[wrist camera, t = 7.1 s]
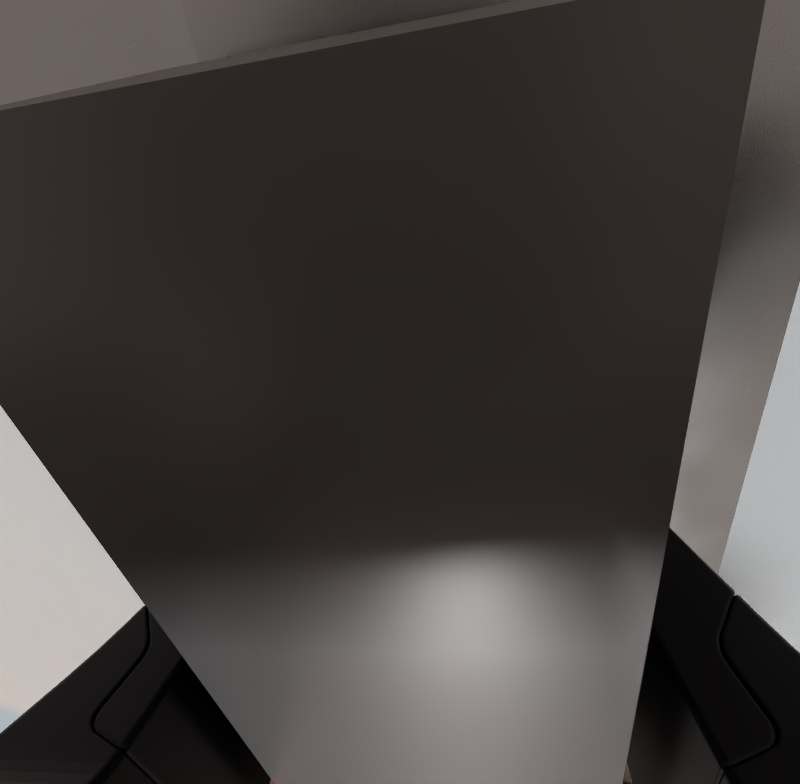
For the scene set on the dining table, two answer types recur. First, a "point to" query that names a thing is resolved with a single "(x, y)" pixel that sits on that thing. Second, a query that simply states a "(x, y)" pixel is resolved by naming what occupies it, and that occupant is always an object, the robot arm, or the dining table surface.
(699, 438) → the mount plate
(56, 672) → the dining table surface
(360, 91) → the grey rectangular block
